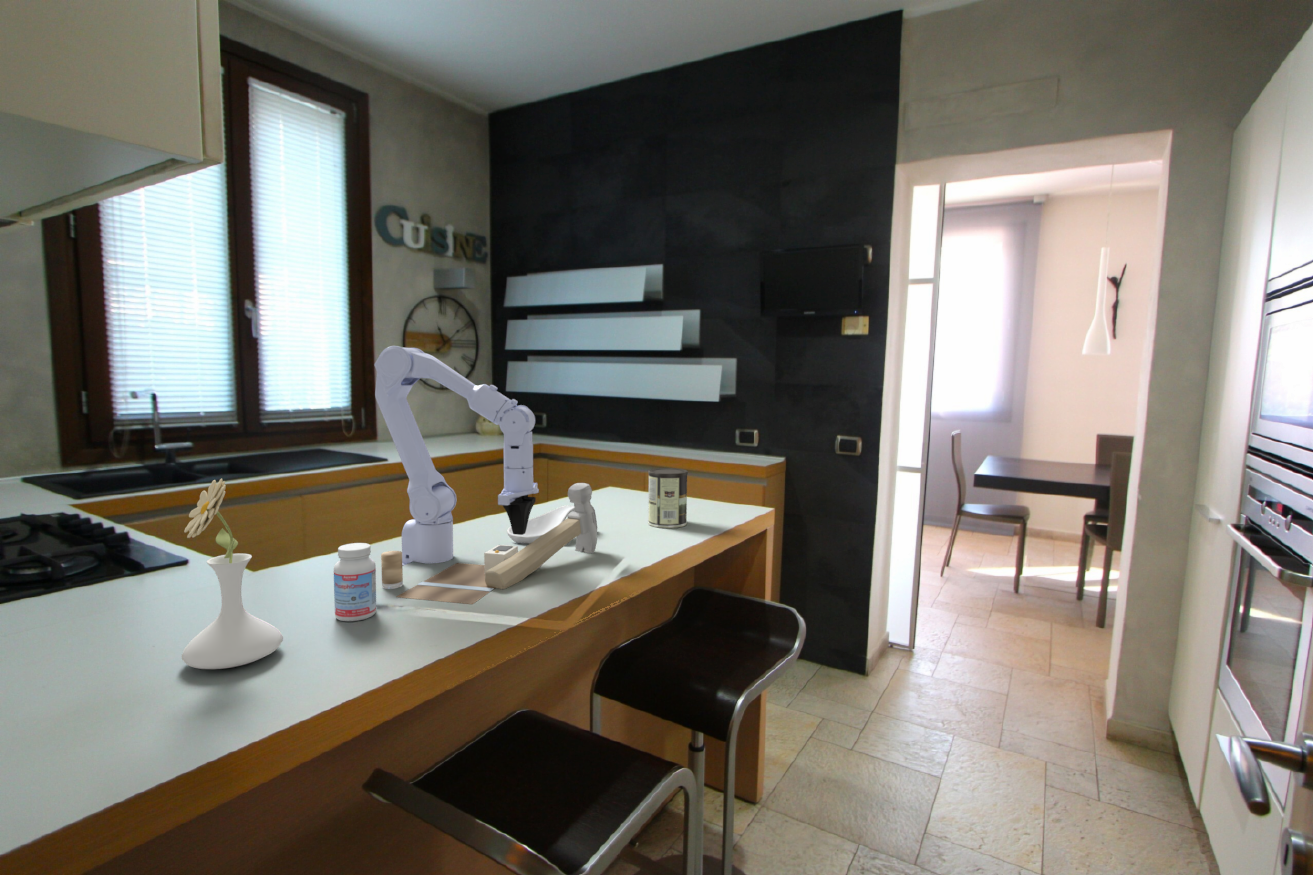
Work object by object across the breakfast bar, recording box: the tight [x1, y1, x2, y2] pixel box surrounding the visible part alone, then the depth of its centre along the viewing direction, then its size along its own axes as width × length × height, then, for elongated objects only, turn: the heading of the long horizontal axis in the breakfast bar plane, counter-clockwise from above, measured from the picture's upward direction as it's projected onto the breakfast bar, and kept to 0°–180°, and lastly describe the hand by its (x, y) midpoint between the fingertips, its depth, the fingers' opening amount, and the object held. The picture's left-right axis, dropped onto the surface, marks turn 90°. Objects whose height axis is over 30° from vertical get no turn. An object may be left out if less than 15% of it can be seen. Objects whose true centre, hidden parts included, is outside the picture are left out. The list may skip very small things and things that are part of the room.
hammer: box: [485, 482, 598, 590], centre depth 125 cm, size 16×5×30 cm
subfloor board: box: [395, 562, 497, 605], centre depth 115 cm, size 14×20×1 cm
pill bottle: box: [333, 542, 377, 622], centre depth 101 cm, size 6×6×11 cm
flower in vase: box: [181, 478, 284, 670], centre depth 84 cm, size 13×11×25 cm
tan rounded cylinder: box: [380, 550, 404, 590], centre depth 112 cm, size 3×3×7 cm
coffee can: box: [647, 467, 689, 529], centre depth 167 cm, size 10×10×14 cm
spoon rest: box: [506, 504, 574, 545], centre depth 151 cm, size 24×12×7 cm, turn 142°
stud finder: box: [483, 544, 519, 573], centre depth 121 cm, size 4×6×4 cm, turn 168°
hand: (519, 533), depth 128 cm, fingers closed
